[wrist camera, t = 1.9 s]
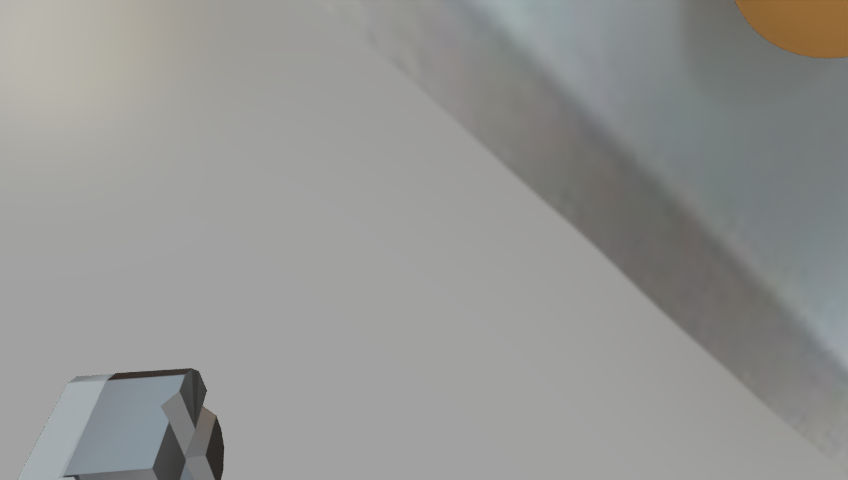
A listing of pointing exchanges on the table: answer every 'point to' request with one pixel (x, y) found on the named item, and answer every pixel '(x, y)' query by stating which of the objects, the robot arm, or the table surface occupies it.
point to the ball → (801, 25)
